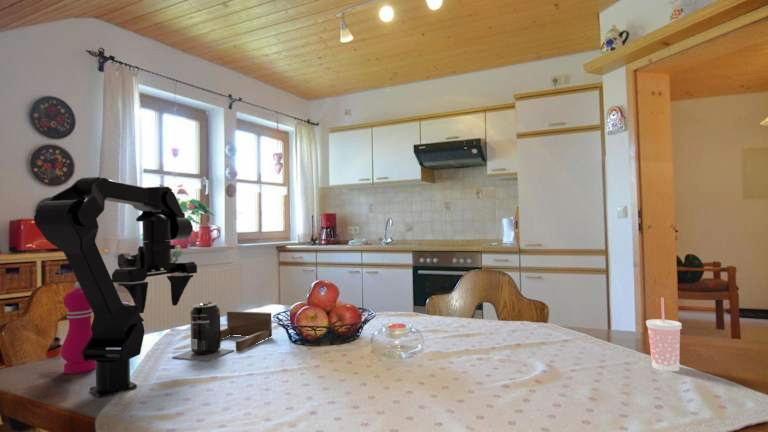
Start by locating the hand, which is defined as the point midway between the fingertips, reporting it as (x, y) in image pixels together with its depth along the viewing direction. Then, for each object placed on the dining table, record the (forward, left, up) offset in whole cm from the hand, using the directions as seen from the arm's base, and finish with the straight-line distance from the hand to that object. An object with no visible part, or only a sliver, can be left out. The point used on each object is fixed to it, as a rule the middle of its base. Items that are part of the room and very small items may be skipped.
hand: (158, 309), depth 101 cm
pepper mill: (+13, +12, -13) cm, 22 cm away
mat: (0, -10, -13) cm, 17 cm away
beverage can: (0, -11, -13) cm, 17 cm away
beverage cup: (-90, -61, -13) cm, 110 cm away
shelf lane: (+4, -21, -13) cm, 25 cm away
